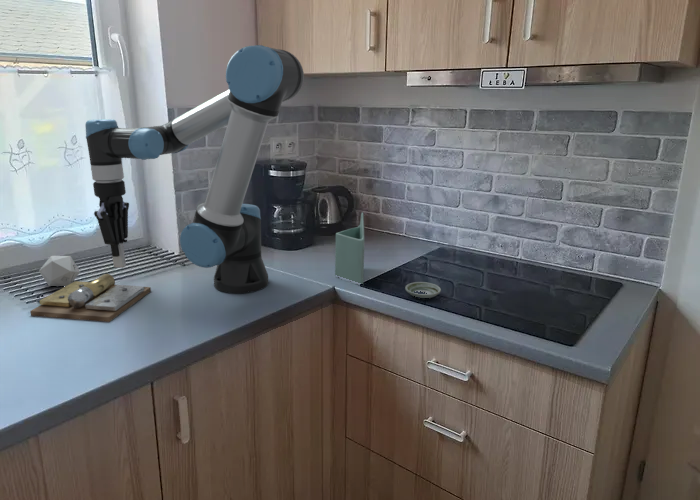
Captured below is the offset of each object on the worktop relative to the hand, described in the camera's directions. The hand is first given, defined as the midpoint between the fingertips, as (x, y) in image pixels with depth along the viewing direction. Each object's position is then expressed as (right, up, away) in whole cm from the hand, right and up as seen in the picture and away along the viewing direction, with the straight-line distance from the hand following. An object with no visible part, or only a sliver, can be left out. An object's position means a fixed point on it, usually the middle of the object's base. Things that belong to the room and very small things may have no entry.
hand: (120, 266), depth 144 cm
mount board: (-2, -9, -9) cm, 13 cm away
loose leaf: (-6, -7, -9) cm, 13 cm away
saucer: (+83, -8, +1) cm, 83 cm away
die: (-17, -5, +2) cm, 18 cm away
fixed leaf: (+2, -8, -10) cm, 13 cm away
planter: (+62, -4, +14) cm, 64 cm away
